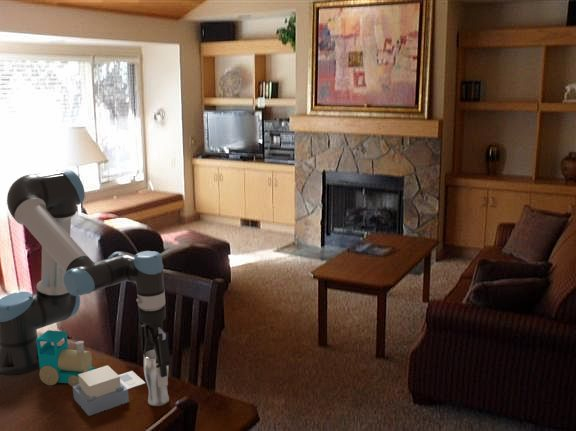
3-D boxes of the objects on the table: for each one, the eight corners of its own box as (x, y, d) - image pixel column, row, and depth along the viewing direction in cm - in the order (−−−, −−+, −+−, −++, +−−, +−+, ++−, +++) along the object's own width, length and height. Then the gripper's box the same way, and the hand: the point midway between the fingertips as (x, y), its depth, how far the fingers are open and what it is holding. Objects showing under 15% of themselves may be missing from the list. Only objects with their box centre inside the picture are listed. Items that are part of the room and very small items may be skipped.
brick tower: (73, 398, 183) (71, 374, 181) (112, 385, 190) (110, 361, 188) (88, 416, 174) (85, 390, 172) (128, 401, 181) (126, 376, 179)
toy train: (89, 389, 188) (85, 343, 185) (40, 384, 192) (34, 339, 188) (102, 376, 196) (97, 332, 192) (54, 372, 199) (49, 329, 196)
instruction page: (111, 378, 195) (111, 377, 195) (132, 371, 199) (132, 370, 199) (124, 390, 187) (124, 389, 187) (145, 383, 191) (145, 382, 191)
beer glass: (142, 406, 178) (139, 358, 175) (151, 394, 185) (147, 347, 181) (166, 407, 177) (162, 359, 174) (173, 395, 184) (170, 348, 180)
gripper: (124, 299, 179) (130, 372, 185) (155, 320, 164) (160, 398, 170) (148, 293, 184) (154, 364, 189) (180, 313, 169) (185, 389, 174)
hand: (157, 380), depth 179 cm, fingers closed on beer glass, 7 cm apart
